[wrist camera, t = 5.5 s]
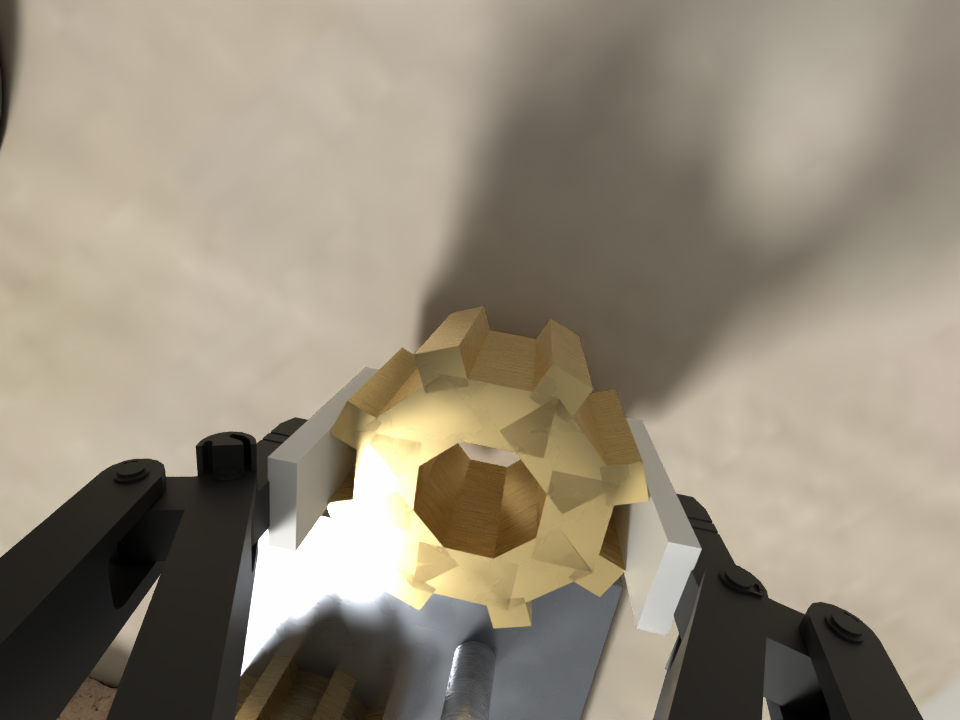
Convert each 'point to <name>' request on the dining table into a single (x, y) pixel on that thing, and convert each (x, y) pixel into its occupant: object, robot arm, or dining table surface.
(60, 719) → the stone
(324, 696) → the plate
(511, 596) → the planet gear
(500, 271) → the dining table surface
